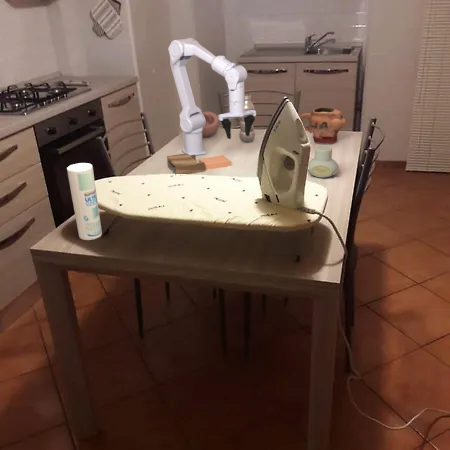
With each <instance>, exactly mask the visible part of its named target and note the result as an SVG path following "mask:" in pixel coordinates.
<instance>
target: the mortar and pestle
mask: <svg viewBox="0 0 450 450" xmlns="http://www.w3.org/2000/svg"><path fill="white" fill-rule="evenodd" d="M201 112H202V114H203V116H204V117H205V120H206V123H205V126H204V127H203V130H202V137H204V138H208V137H211V136H214V135H215V134H216V133H217V132H218V130H219V127H220V120H219V117H218V115H217V114H216V113H215V112H212V111H201Z"/></svg>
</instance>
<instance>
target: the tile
mask: <svg viewBox="0 0 450 450" xmlns="http://www.w3.org/2000/svg"><path fill="white" fill-rule="evenodd" d="M202 162H204V163H205V171H207V170H208V169H209V170H215V169H220V168H225V167H231V166H232V161H231V160H230V159H228V157H226V156H225V155H223V154H221V155H216V156H215V155H214V156H209V157H208V156H207V157H203V158H199V159H198V163H202Z"/></svg>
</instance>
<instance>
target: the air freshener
mask: <svg viewBox="0 0 450 450" xmlns="http://www.w3.org/2000/svg"><path fill="white" fill-rule="evenodd" d="M332 157H333V148H332V147H331V146H328V145H317V146H316V147H315V148H314V157H313V158H312V159H310V160H309V161H308V162H309V169H308V170H307V172H308V173H309V174H310V175H311V176H313V177H316V178H318V179H325V178H326V179H327V178H330V177H332V176H334V175H335V174H337V172H338V171H339V165H338V163H337V161H336V160H334V159H333V158H332Z"/></svg>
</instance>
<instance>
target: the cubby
mask: <svg viewBox="0 0 450 450" xmlns="http://www.w3.org/2000/svg"><path fill="white" fill-rule="evenodd" d="M196 156H197V155H189V154H188V153H180V154H173V155H167V156H166V160H167V161H166V162H167V168H168V169H169V170H170V171H172V173H173V174H174V173H175V174H174V175H176V174H186V175H191V174H192V173H193V174H198V173H197V172H199V173H204V172H203V171H205V172H206V169H205V163H204V162H202V163H199V162H197V159H196V158H197V157H196Z"/></svg>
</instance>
